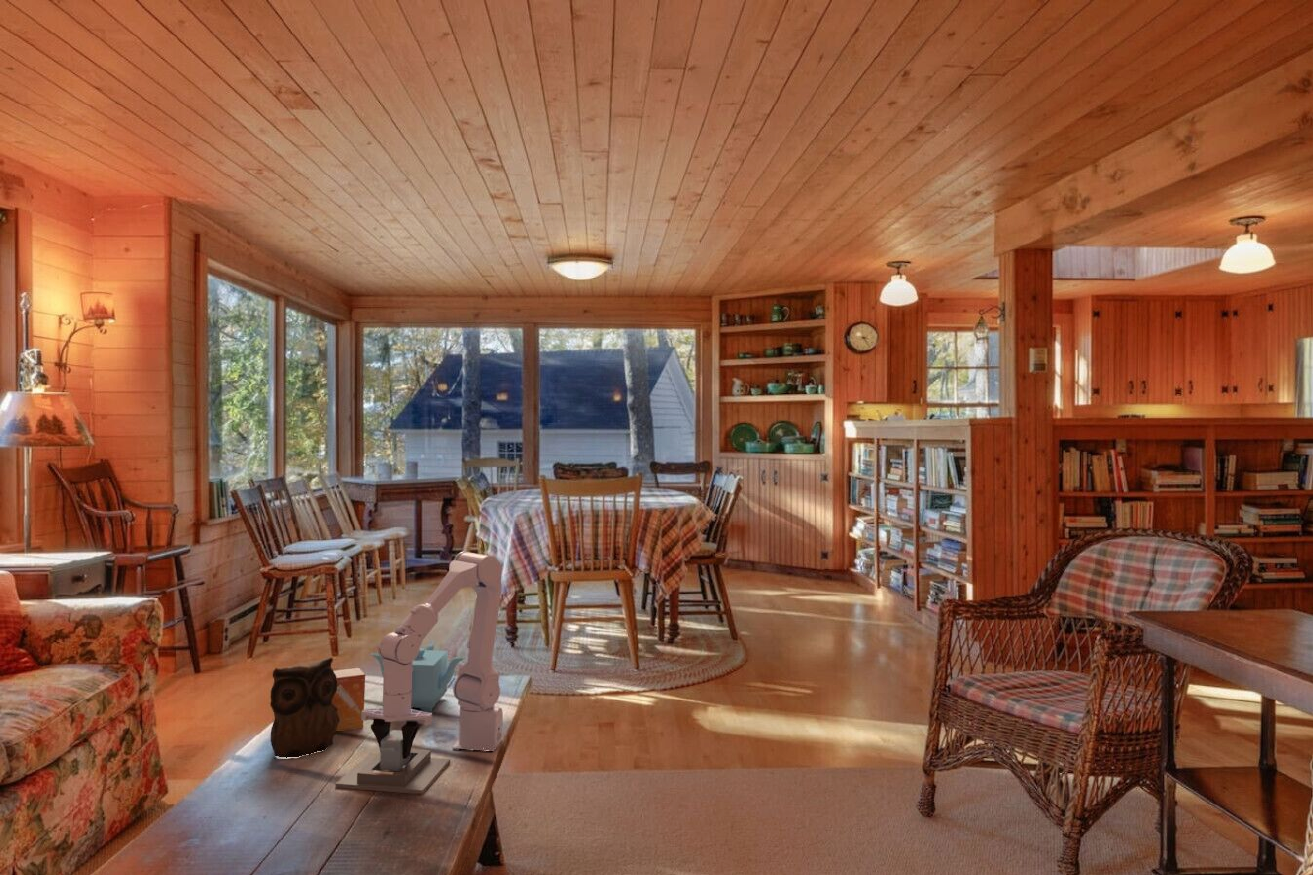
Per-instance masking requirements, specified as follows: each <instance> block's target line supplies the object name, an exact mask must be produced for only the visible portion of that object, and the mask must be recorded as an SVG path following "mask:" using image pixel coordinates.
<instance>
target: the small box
mask: <svg viewBox="0 0 1313 875" xmlns="http://www.w3.org/2000/svg"><path fill="white" fill-rule="evenodd" d="M333 671H334V673H335V675H336V680H337V691H336V693H335V694H334V696H333V698H332V702H333V704H334V705H335V707H336V708H337V714H338V715H339V719H340V721H339V723H338V725H337V729H336V733H337V732H341V731H348V730H356V729H363V728H364V721H363V720H361V712H362V711H363V710H364V709H365V694H366V693H365V692H366V691H365V690H366V689H365V688H366V674H365V673H364V671H363V670H361V669H360V667H355V668H346V669H345V668H344V669H343V668H342V669H338V670H333Z"/></svg>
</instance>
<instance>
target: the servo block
mask: <svg viewBox="0 0 1313 875" xmlns="http://www.w3.org/2000/svg"><path fill="white" fill-rule="evenodd" d="M380 751H381V754H380V770H392V771H399V770H400V769H401V768H402V767H403V766H404V765H405V764H406V763H407V762H408V761H409V760H410V756H409V757H407V758H406V759H403V736H402V730H396V729H392V730H390V733H389V734H388V735H387V736H386V737H384V738H383V739H382V740H381V747H380V748H379V752H380ZM410 752H411V751H410Z"/></svg>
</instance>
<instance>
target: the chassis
mask: <svg viewBox="0 0 1313 875" xmlns="http://www.w3.org/2000/svg"><path fill="white" fill-rule="evenodd" d="M380 754H381V752H380V751H379V753H374V752H370V753H368V755H366V756H365V757H364V758H363V759H361V761H359V762H358V763H357V764H356V765H355V766H354V767H353V768H351V769H350V770H349V771H348V772H347V773H345V774H344V775H343V776H342V777H341V778H340V779H339V780H338V781H337V782H336V783H335V788H336V787H338V789H348V788H350V789H349V790H361V791H363V790H364V791H375V792H376V791H377V792H387V793H398V794H399V793H400V794H411V795H423V794H424V793H425V792H426V791H427V790H428V789H427V788H430V786H431V785H432V784H433V783H434V782H433V781H435V780H437V779H438V777H439V776H440V775H441V774H442V773H443V771H444V770H445V769H446V768H447V767H448V766H449V765H450V764H451V758H439V757H431V756H432V750H431V749H418V748H411V752H410V760H409V761H408V762H407V763H406V764H405V765H404V766H403V767H402V768H401V769H400V770H399V771H392V770H380ZM448 764H449V765H448ZM447 765H448V766H447ZM446 766H447V767H446ZM445 767H446V768H445ZM444 768H445V769H444ZM441 772H442V773H441ZM426 789H427V790H426ZM425 790H426V791H425Z"/></svg>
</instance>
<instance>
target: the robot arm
mask: <svg viewBox="0 0 1313 875" xmlns="http://www.w3.org/2000/svg"><path fill="white" fill-rule="evenodd" d="M448 566H449V568H448V569H449V570H448V572H447V573H446V575H445V576H444V577H443V579H442V580H441V581H440V583H439V584H438V585H437V587H436V588H435V590H434V591H433V593H432V594H431V595H430V597H429V598H428V600H427V601H426V602H425V603H421V604H417V605H416V606H413V607H412V608H411V610H410V613H409V614H408V615H407V617H406V618H404V620H402V622H401V623H400V624H399V625H398V626H397V627H396V628H395V630H394V631H391V632H390V633H387V634H386V635H385V636H383V638H382V639H381V640H380V644H379V645H380V646H378V647H377V651H378V654H379V655H380V656H381V658H382V660H383V664H382V665H383V666H384V678H383V686H382V688H383V690H382V707H378V708H369V707H368V708H366V707H364V710H363V711H362V712H361V720H363V722H366V721H369V720H370V721H373V722H372V723H371V725H370V730H371V731H372V733H373V735H374V736H375V738H376V741H377V744H378V748H379V749H380V747H381V740H382V739H383V738H384V737H386V736H387V735H388V734H389V733H390V732H391V724H392V723H394V722H395V723H405V724H403V725H402V726H401V730H400V731H402V736H403V759H406V758H407V757H409V756H410V751H411V749H412V746H413V742H414V740H415V738H416V736H417V733H418V731H419V729H420V727H421V726H422V725H424V726H429V725H430V724H431V723H432V722H433V712H428V713H427V712H422V711H421V710H417V709H413V708H412V707H411V699H412V665H413V660H414V659H415V658H417V656H418V654H419V650H420V648H421V645H422V644H423V641H424V640H425V638H426V637H427V635H428V634H429V633H430V632H431V631H432V630H433V629H434V627H435V626H436V624H438V622H439V612H441V610H443V609H444V608H445V607H446V605H447V604H448V603H450V602H451V600H453V598H454V597H456V595H457V594H458V593H459V592H460V590H462V589H464V588H472V589H473V591H474V592H475V593H476V598H475V605H474V614H473V618H472V619H473V620H472V626H471V632H470V633H471V634H470V640H469V649H468V655H467V656H468V658H467V662H466V663H465V664H463V665H462V666H461V667H460V668H459V670H458V674H457V677H456V679H455V681H454V684H453V688H452V692H453V695H454V697H455V698H456V700H457V701H458V702H457V705H458V706H459V729H458V730H459V732H458V733H459V734H458V740H457V742H455V744H454V745H453V746H452V749H453V750H459V749H473V750H489V751H493V752H495V750H496V749H497V748H498V747H499V746H500V744H501V743H502V741H503V739H504V738H503V718H504V717H503V708H502V707H500V706H499V707H498V706H495V705H496V704H497V702H498V700H499V698H500V694H501V687H500V682H499V678H500V674H499V672H498V671H497V670H496V668H495V667H494V665H493V656H494V648H495V641H496V633H497V626H498V618H499V614H500V613H499V612H500V604H501V603H500V602H501V596H502V589H503V588H502V572H503V565H502V563H501V562H500V561H499V559H498V558H497V557H495V556H494V555H487V554H486V555H485V554H480V553H475V552H470V551H467V550H464V551H461V552H459V553H457V555H455V558H454V559H453V560H452V561H451V562H450V563H449V565H448ZM483 748H484V749H483ZM473 750H472V751H473ZM380 752H381V751H380V750H379V753H380Z"/></svg>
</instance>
